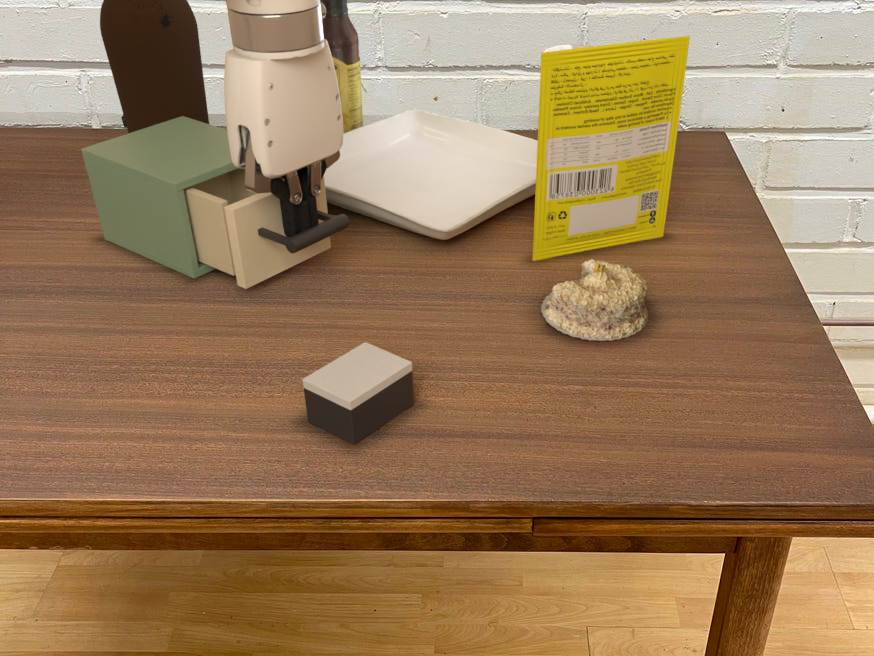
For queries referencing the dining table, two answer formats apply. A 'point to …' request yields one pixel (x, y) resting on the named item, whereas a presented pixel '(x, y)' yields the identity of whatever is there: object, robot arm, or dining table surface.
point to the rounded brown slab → (154, 60)
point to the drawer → (251, 229)
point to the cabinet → (156, 187)
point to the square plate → (431, 172)
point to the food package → (606, 144)
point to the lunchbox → (359, 392)
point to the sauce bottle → (344, 61)
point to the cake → (599, 303)
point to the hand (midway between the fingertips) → (302, 237)
